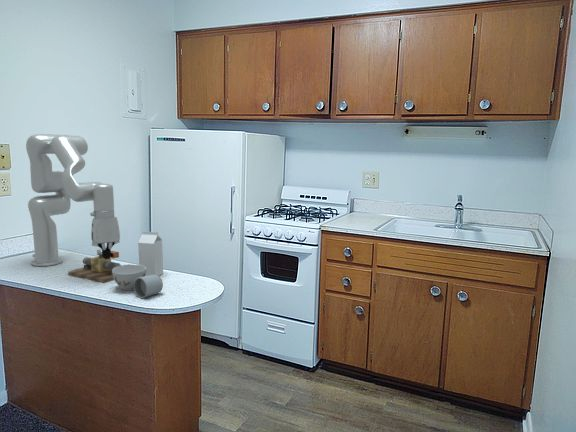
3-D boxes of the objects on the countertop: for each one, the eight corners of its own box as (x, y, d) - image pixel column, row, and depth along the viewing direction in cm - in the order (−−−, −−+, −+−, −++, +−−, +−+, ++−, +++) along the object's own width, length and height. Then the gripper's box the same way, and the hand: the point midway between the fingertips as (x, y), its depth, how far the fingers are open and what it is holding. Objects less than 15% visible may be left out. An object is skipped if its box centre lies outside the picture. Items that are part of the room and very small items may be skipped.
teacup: (129, 295, 157) (128, 274, 156) (105, 290, 163) (104, 270, 161) (158, 284, 170) (157, 265, 169) (135, 279, 176) (134, 261, 175)
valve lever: (95, 254, 181) (95, 249, 181) (101, 253, 184) (101, 248, 183) (113, 258, 175) (113, 253, 175) (119, 257, 178) (118, 252, 177)
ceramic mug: (164, 293, 159) (163, 274, 158) (147, 300, 153) (145, 279, 152) (146, 289, 165) (145, 269, 164) (128, 294, 158) (127, 275, 157)
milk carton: (155, 278, 178) (153, 234, 175) (139, 277, 179) (137, 233, 176) (163, 273, 185) (161, 230, 182) (148, 272, 186) (146, 230, 183)
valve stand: (68, 274, 181) (66, 255, 180) (100, 265, 195) (99, 247, 194) (103, 283, 171) (102, 262, 170) (134, 272, 185) (133, 254, 184)
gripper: (87, 217, 164) (90, 263, 167) (126, 214, 174) (128, 257, 177) (81, 214, 170) (84, 259, 173) (119, 211, 180) (121, 253, 182)
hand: (106, 258), depth 175 cm, fingers closed
